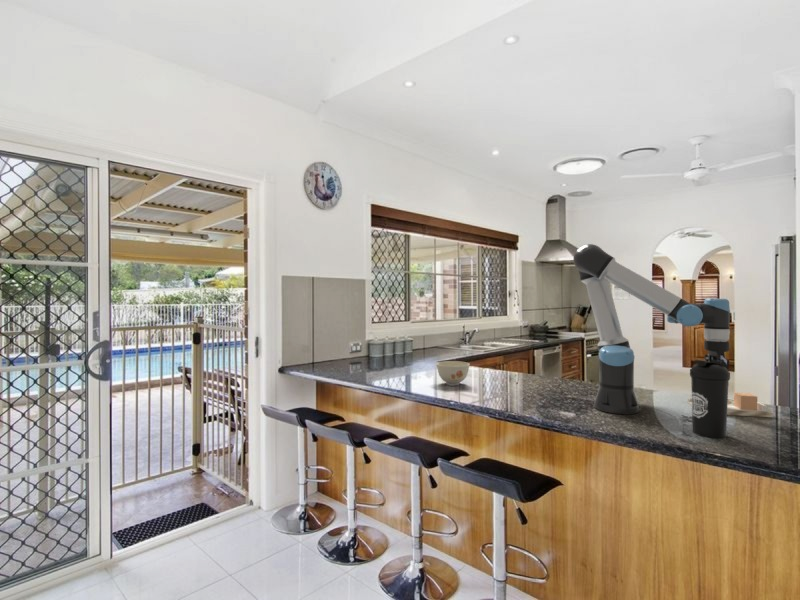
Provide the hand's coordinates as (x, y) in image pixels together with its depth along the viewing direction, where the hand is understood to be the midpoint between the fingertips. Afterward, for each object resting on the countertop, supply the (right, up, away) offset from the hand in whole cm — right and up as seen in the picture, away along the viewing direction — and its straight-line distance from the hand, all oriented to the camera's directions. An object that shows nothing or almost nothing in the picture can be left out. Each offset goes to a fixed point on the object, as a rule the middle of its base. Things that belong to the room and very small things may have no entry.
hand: (716, 402), depth 158 cm
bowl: (-92, -3, +49) cm, 104 cm away
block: (+9, -1, -2) cm, 9 cm away
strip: (+6, -3, -1) cm, 7 cm away
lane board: (+6, -3, +3) cm, 8 cm away
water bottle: (-20, -4, -24) cm, 32 cm away
